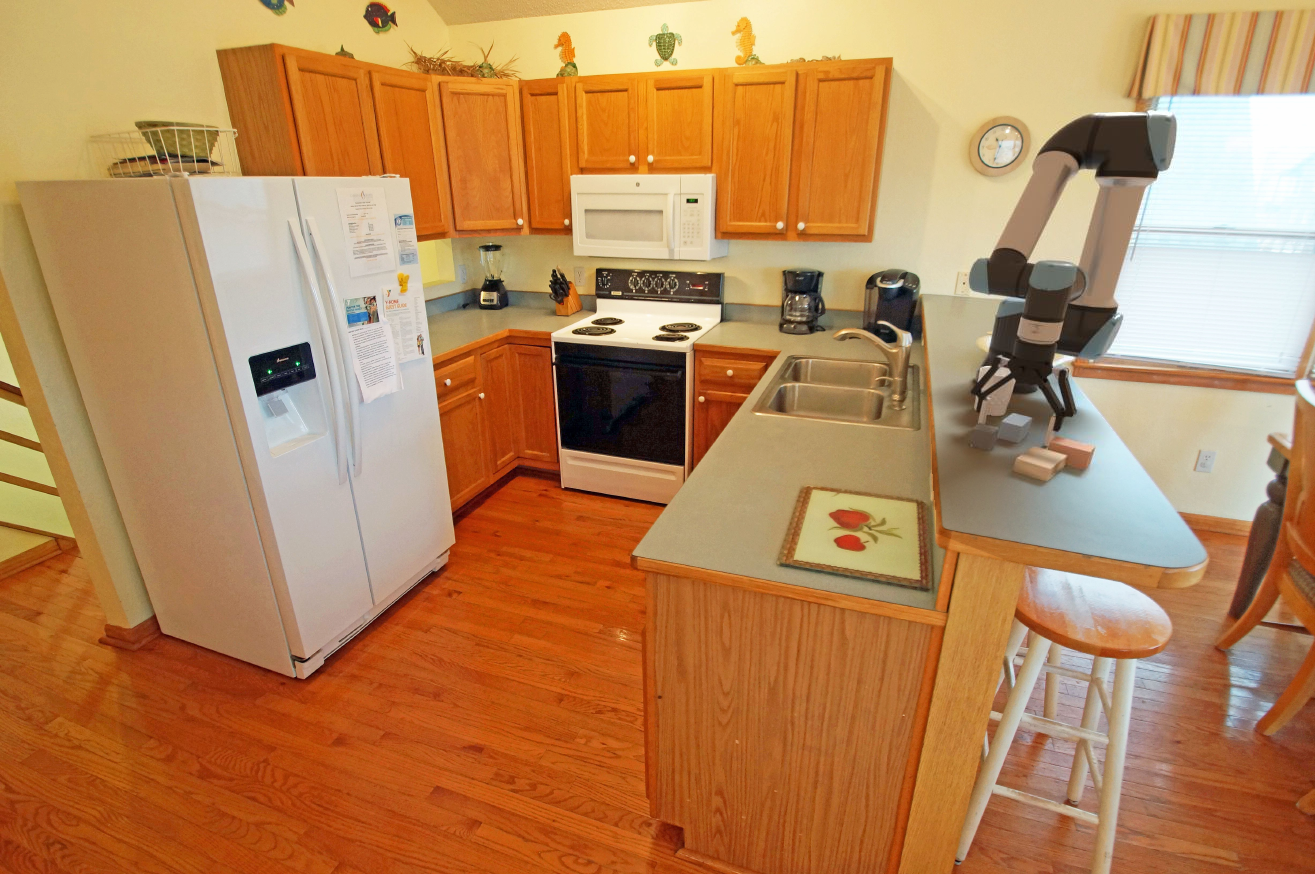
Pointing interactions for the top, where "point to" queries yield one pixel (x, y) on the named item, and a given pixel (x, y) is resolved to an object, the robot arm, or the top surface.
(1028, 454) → the maple block
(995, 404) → the white cup
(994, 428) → the charcoal block
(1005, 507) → the top surface
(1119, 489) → the top surface
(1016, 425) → the blue block
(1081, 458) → the terracotta block
